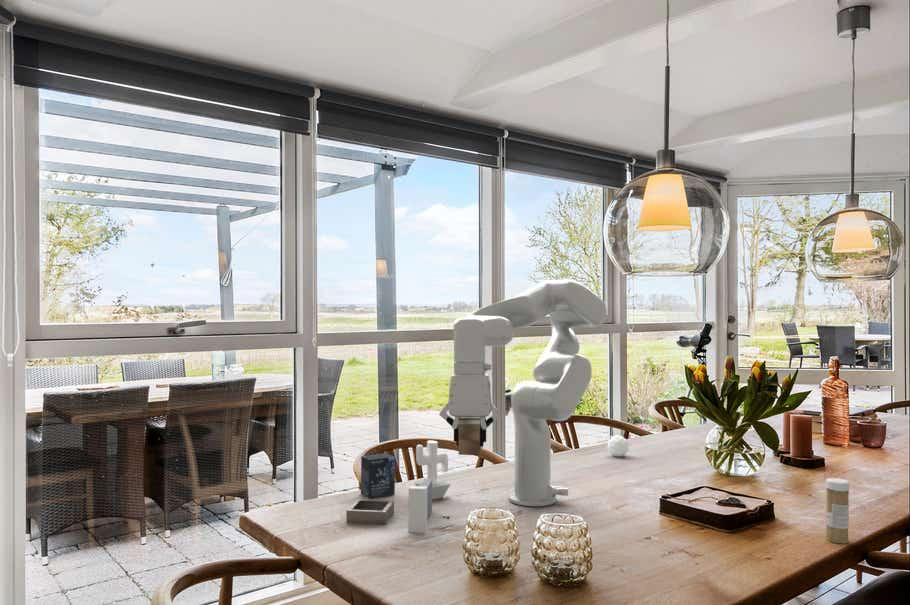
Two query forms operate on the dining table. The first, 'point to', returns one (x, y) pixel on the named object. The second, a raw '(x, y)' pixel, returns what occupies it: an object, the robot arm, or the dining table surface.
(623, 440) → the ornament
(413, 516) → the grey upright block
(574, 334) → the robot arm
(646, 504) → the dining table surface
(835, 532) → the sprinkles bottle
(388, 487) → the box
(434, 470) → the figurine
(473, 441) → the stop block
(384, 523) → the tray
